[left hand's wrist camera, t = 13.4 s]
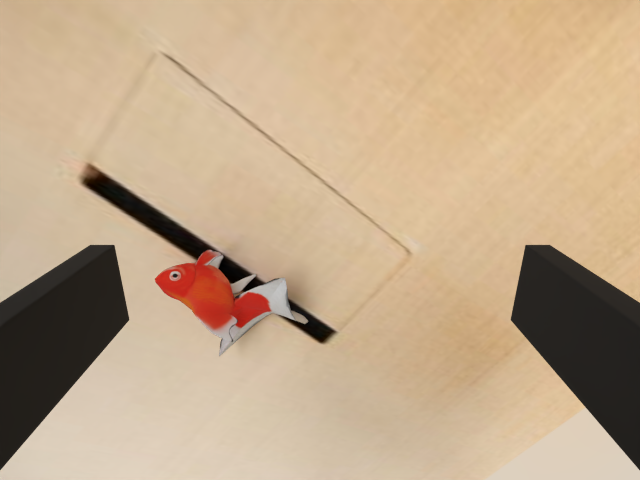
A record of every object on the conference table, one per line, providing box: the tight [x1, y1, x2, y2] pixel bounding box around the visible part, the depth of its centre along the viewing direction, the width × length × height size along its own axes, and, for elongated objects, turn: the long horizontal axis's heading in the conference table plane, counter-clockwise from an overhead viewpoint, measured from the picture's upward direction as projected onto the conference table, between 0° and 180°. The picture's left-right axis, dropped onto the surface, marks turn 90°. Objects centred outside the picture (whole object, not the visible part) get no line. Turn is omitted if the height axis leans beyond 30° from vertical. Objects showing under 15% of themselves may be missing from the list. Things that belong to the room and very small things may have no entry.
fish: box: [155, 250, 308, 356], centre depth 39 cm, size 11×16×10 cm
